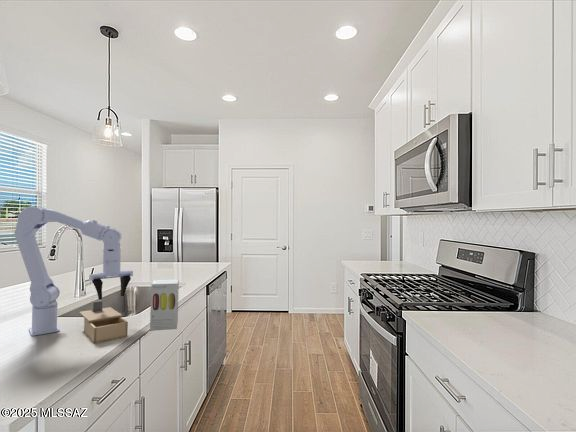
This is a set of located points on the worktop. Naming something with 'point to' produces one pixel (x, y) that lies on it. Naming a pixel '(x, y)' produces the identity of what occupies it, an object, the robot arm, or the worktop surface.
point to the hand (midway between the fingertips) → (111, 297)
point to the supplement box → (164, 305)
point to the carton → (106, 329)
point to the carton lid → (99, 312)
